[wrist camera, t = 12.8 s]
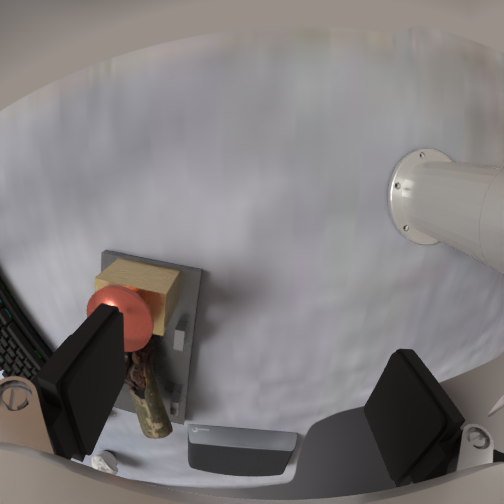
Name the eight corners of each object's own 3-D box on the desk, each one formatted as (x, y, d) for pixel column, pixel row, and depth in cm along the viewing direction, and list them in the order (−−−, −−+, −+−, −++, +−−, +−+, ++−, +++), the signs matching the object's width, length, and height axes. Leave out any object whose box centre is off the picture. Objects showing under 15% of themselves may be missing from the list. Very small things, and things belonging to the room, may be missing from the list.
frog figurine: (128, 459, 49) (121, 482, 42) (109, 461, 49) (101, 482, 43) (109, 443, 47) (100, 467, 40) (90, 446, 48) (81, 468, 41)
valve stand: (203, 262, 36) (186, 303, 25) (184, 419, 44) (174, 469, 33) (105, 244, 35) (60, 274, 24) (113, 401, 43) (92, 446, 32)
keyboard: (109, 407, 44) (100, 426, 39) (65, 421, 46) (57, 436, 41) (-25, 215, 33) (-44, 221, 28) (-50, 260, 35) (-65, 268, 31)
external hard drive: (188, 419, 44) (185, 436, 41) (298, 428, 46) (301, 445, 42) (188, 456, 48) (185, 472, 44) (282, 464, 49) (284, 479, 45)
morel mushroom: (177, 424, 39) (162, 447, 33) (140, 415, 40) (123, 436, 35) (155, 322, 36) (132, 340, 30) (115, 317, 37) (90, 332, 32)
